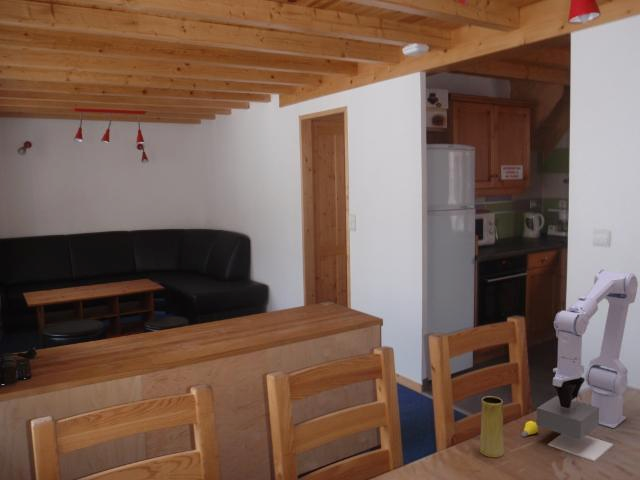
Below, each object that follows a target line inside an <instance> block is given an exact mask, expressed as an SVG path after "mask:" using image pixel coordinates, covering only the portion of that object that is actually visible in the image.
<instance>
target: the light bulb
mask: <svg viewBox="0 0 640 480" xmlns="http://www.w3.org/2000/svg"><path fill="white" fill-rule="evenodd" d="M538 430H539V426H537V422H536V421H532V420H529V421H527V422H525V425H524V429H523V431H522V432H521V436H522V437H524V438H527V436H529V435H530V436H531V435H534V434H536V433H538Z"/></svg>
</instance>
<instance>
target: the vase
mask: <svg viewBox="0 0 640 480" xmlns="http://www.w3.org/2000/svg"><path fill="white" fill-rule="evenodd" d="M480 424H481V425H480V429H481V430H480V436H479V437H480V441H479V452H480V454H481V455H484V456H486V457H488V458H500V457H502V456H503V455H504V454H505V451H504V401H503V399H501V398H500V397H497V396H492V395H487V396H483V397H482V398H481V422H480Z"/></svg>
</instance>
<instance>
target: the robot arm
mask: <svg viewBox="0 0 640 480" xmlns="http://www.w3.org/2000/svg"><path fill="white" fill-rule="evenodd" d="M594 275H595V276H594V278H593V279H594V280H593V285H592V287H591V288H590V290H589V291H588V292H587V293H586V295H579V296H578V297H577V298H576V299H575V300H574V302H572V304H571V305H570V306H569V307H568V308H567V309H566V310H561V311H558V312H557V313H556V314H555V318H554V321H553V328H554V329H555V336H556V338H557V340H558V341H557V367H555V368H553V369H552V372H553V373H555V375H554V377H553V378H552V386H553V387H554V389H555V390H556V392H557V396H558V397H559V401H560V405H561V406H562V407H565V408H569V407H570V404H571V398H572V396H574V397H576V401H577V399H578V396H579V392H580V390H581V387H582V385H583V384H584V383H585V382H586V385H587V386H589V390H591V399H590V400H591V401H590V402H591V404H590V405H591V406H595V407H598V408H599V425H601V426H604V427H608V428H611V429H615V428H616V427H617V426H618V425H620V424H621V423H622V422H623V421H624V420H626V419H627V417H626V416H625V415H623V413H624V412H623V410H624V409H623V408H624V397H623V394H624V393H625V392H626V390H627V388H628V383H629V381H628V371H629V370H628V369H627V367H626V366H625V365H624V364H623V363H622V362H621V361H620V354H621V349H622V345H623V344H622V343H623V338H624V333H625V329H626V323H627V315H628V312H629V308H630V307H629V305H631V304H634V303H635V300H636V297H637V291H638V286H639V282H638V279H637V278H638V277H637V276H636V275H635V273H632V272H621V271H611V270H604V269H599V270H598V271H597V272H596V273H595V274H594ZM603 300H606V301H607V302H608V310H607V314H606V315H607V316H606V322H605V326H604V329H603V330H604V331H603V337H602V342H601V346H600V353H599V356H597V357H595V358H593V359H590V361H589V364H588V368H586V371H585V366H584V365H582V343H583V342H582V341H583V335H584V334H585V333H586V331H587V329H588V325H589V323H590V320H591V318H592V317H593V316H594V315H595V314H596V313H597V311H598V310H599V303H601V302H602V301H603ZM584 373H585V375H584V377H583V376H582V374H584Z"/></svg>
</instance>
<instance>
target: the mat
mask: <svg viewBox="0 0 640 480" xmlns="http://www.w3.org/2000/svg"><path fill="white" fill-rule="evenodd" d="M547 446H550V447H552V448H555V449H557V450H560V451H563V452H566V453H568V454H572V455H574V456H577V457H580V458H583V459H584V460H585V459H586V460H588V461H591V462H596V461H597V460H598V459H599V458H601V457H602V456H603V455H604V454H605V453H606V452H607V451H608V450H609V449H611V448H612V447H614V443H611V442H608V441H605V440H602V439H598V438H596V437H592V436H589V435H588V434H587V435H586V436H585V437H583V438H582V439H581V440H579V439H576V438H573V437H570V436H567V435H564V434H561V433H560V435H558V436H557V437H556V438H554V439H553V440H551V441H550V442H548V443H547Z"/></svg>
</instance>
